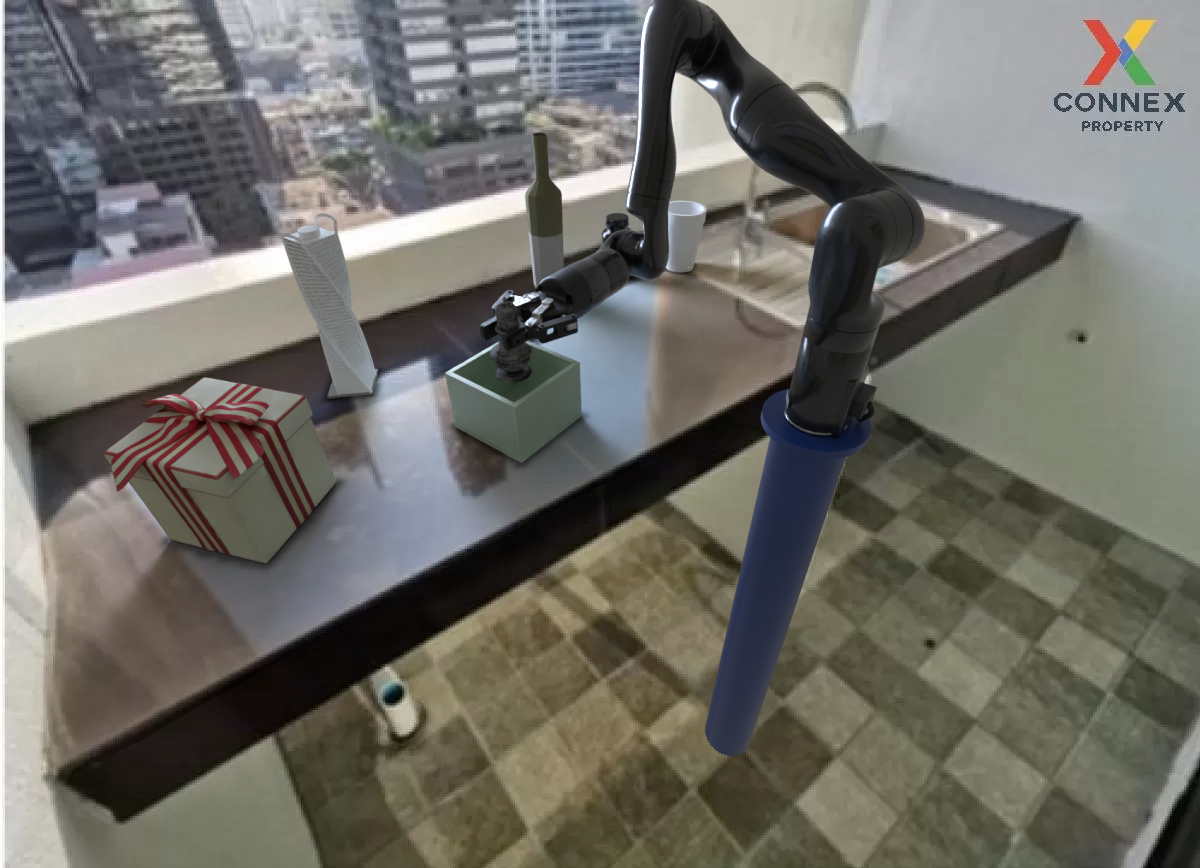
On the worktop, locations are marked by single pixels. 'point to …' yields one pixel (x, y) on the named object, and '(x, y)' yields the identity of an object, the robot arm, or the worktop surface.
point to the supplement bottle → (615, 224)
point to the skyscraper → (331, 307)
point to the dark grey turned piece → (515, 360)
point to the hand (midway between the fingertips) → (494, 338)
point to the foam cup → (684, 233)
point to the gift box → (226, 467)
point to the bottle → (544, 216)
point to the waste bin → (515, 401)
